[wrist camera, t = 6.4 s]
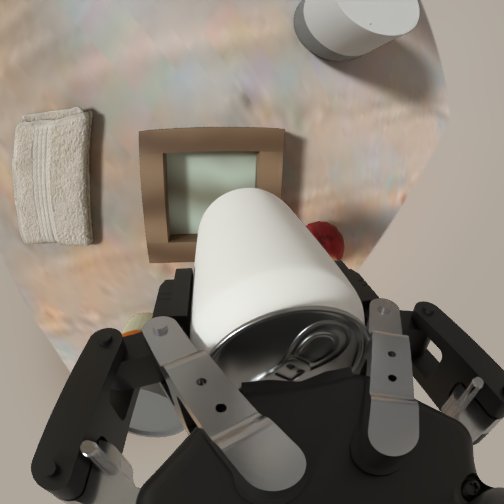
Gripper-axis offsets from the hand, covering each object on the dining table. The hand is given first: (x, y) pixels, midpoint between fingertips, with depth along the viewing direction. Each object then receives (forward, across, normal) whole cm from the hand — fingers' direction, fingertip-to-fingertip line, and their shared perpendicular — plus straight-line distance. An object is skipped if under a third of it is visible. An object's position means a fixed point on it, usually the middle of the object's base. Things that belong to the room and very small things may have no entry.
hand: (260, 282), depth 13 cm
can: (+6, 0, 0) cm, 6 cm away
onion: (+22, -10, +7) cm, 25 cm away
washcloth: (+22, +23, -3) cm, 32 cm away
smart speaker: (+22, -11, -20) cm, 32 cm away
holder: (+22, +2, +1) cm, 22 cm away
